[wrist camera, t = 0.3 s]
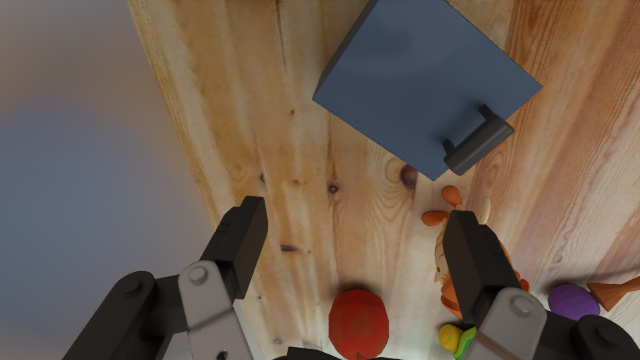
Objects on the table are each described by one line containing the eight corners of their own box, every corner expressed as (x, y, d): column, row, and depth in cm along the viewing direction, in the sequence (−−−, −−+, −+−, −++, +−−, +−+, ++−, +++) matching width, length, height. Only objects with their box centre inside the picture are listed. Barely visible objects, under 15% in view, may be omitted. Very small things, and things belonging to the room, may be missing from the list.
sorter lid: (539, 84, 24) (576, 108, 20) (432, 177, 30) (443, 211, 26) (401, -37, 21) (411, -38, 16) (312, 96, 27) (303, 120, 23)
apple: (377, 273, 51) (380, 343, 41) (393, 307, 56) (400, 375, 46) (322, 283, 54) (314, 349, 45) (343, 314, 59) (339, 379, 50)
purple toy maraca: (739, 287, 38) (568, 337, 46) (692, 249, 43) (544, 299, 50) (745, 269, 35) (561, 325, 42) (693, 229, 39) (535, 287, 47)
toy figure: (451, 166, 37) (496, 262, 25) (507, 187, 38) (575, 291, 26) (403, 227, 44) (420, 327, 32) (451, 244, 45) (484, 348, 33)
